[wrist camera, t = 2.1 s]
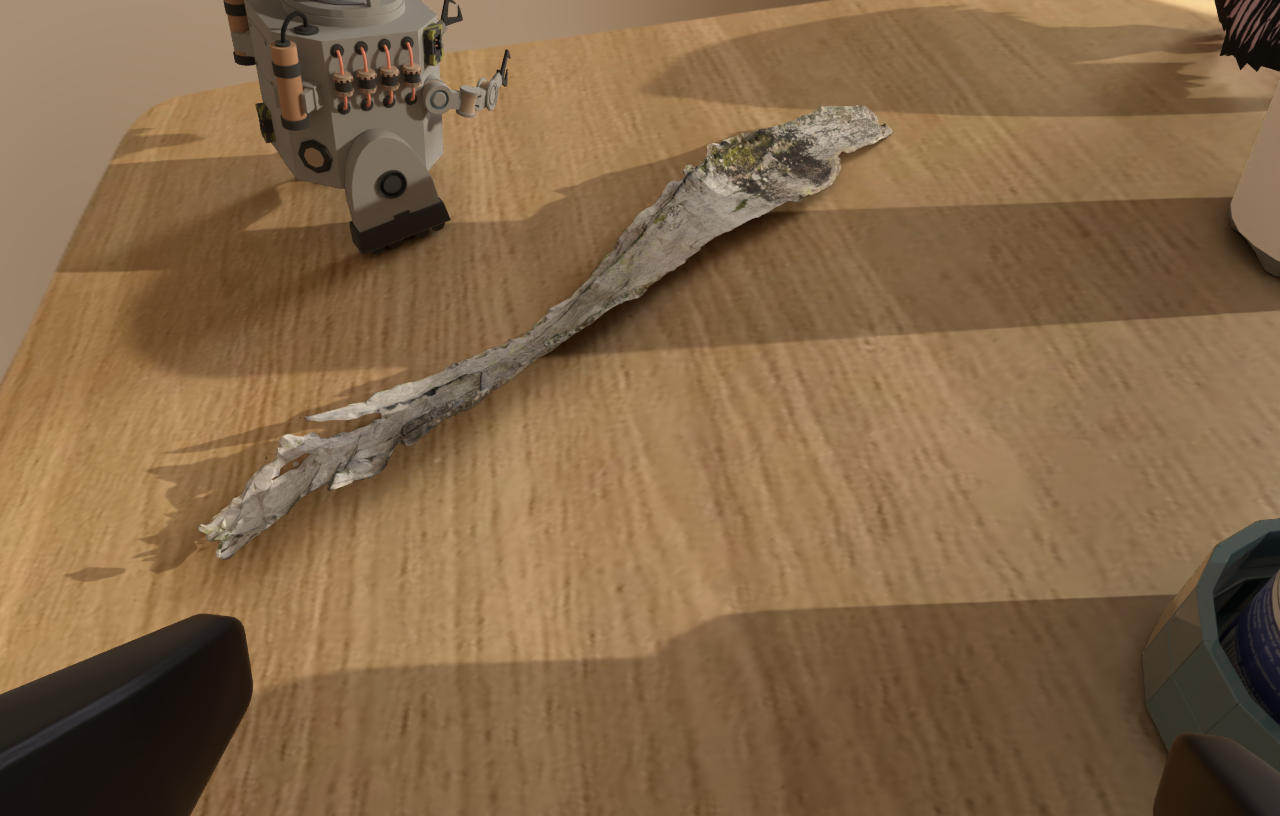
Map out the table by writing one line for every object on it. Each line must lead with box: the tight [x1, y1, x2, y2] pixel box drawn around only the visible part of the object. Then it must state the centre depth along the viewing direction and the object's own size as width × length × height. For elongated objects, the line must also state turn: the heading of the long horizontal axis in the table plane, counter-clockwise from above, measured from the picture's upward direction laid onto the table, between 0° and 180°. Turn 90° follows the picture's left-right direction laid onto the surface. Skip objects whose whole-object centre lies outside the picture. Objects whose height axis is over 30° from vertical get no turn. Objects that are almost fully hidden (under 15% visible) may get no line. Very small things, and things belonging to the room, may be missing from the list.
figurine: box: [224, 0, 511, 255], centre depth 38 cm, size 9×12×15 cm
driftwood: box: [198, 105, 892, 560], centre depth 37 cm, size 37×2×5 cm
